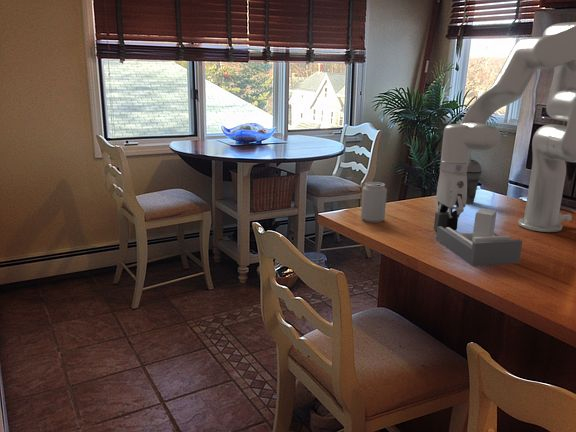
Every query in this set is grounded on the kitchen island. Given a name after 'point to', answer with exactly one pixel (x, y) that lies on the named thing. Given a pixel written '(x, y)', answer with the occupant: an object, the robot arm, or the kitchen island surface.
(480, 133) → the robot arm
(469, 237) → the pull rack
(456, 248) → the tray
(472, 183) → the beverage cup
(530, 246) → the kitchen island surface
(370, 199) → the can
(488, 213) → the skincare box
